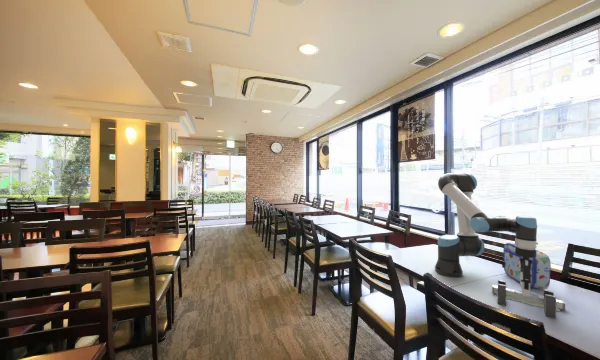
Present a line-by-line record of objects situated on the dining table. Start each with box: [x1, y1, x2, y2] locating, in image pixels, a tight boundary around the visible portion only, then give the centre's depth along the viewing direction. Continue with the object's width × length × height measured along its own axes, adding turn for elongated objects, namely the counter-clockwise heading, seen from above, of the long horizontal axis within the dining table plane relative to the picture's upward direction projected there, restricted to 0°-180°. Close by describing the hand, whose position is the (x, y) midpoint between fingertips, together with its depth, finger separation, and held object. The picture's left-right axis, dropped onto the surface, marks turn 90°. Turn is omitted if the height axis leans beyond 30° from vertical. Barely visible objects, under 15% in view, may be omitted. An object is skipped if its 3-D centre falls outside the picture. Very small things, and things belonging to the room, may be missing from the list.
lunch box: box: [501, 242, 552, 290], centre depth 137 cm, size 28×10×22 cm, turn 168°
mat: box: [496, 294, 561, 312], centre depth 115 cm, size 22×7×1 cm, turn 49°
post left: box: [497, 279, 507, 307], centre depth 114 cm, size 3×6×10 cm, turn 139°
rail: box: [491, 284, 566, 311], centre depth 115 cm, size 26×3×3 cm, turn 49°
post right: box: [543, 289, 557, 320], centre depth 103 cm, size 3×6×10 cm, turn 139°
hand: (524, 290), depth 116 cm, fingers open, 13 cm apart
